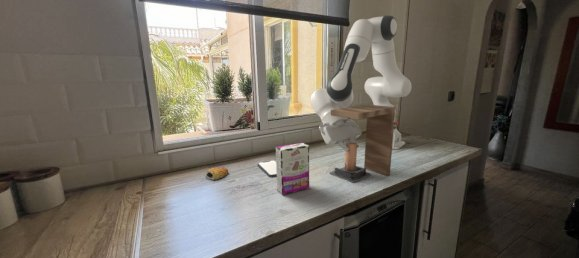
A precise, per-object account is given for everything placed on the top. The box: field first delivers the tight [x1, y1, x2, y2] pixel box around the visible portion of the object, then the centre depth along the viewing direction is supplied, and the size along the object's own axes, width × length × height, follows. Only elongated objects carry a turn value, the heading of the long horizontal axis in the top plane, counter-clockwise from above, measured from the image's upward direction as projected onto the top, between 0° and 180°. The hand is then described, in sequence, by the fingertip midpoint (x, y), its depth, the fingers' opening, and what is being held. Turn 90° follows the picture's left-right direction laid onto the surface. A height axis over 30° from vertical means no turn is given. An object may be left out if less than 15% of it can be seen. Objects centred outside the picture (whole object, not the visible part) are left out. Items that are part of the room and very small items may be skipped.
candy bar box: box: [275, 142, 310, 196], centre depth 91 cm, size 11×5×16 cm, turn 117°
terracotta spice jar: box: [344, 141, 358, 172], centre depth 105 cm, size 4×4×11 cm
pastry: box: [204, 166, 229, 181], centre depth 106 cm, size 9×7×4 cm
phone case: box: [257, 160, 277, 178], centre depth 112 cm, size 9×2×16 cm
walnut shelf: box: [331, 104, 396, 177], centre depth 100 cm, size 24×12×28 cm, turn 130°
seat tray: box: [329, 165, 372, 184], centre depth 106 cm, size 12×12×3 cm
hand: (352, 149), depth 104 cm, fingers closed on terracotta spice jar, 4 cm apart
